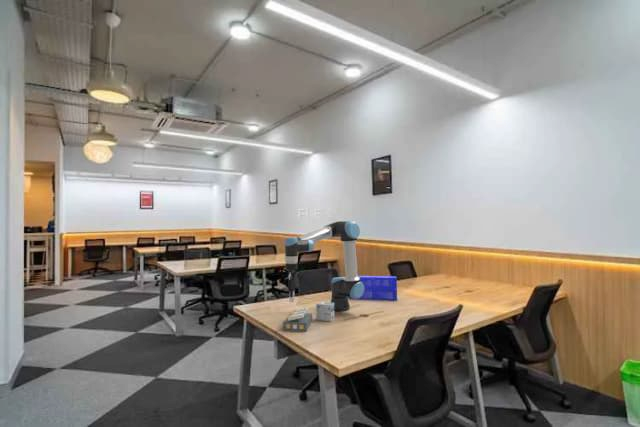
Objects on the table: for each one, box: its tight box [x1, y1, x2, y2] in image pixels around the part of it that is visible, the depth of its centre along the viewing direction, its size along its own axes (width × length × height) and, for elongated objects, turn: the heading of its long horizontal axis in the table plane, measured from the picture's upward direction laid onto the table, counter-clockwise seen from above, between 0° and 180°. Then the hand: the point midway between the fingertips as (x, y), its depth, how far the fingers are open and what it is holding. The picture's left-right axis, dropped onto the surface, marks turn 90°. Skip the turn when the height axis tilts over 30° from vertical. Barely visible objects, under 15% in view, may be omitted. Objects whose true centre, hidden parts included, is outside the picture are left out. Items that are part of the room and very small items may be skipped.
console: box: [282, 312, 313, 333], centre depth 203 cm, size 14×20×6 cm
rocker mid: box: [289, 310, 307, 315], centre depth 203 cm, size 9×4×2 cm, turn 82°
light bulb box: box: [315, 301, 335, 322], centre depth 216 cm, size 11×7×11 cm, turn 71°
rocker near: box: [287, 313, 304, 321], centre depth 197 cm, size 9×4×2 cm, turn 82°
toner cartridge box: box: [348, 275, 398, 301], centre depth 273 cm, size 39×8×18 cm, turn 79°
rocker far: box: [292, 306, 309, 313], centre depth 210 cm, size 9×4×2 cm, turn 82°
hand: (291, 301), depth 198 cm, fingers closed
